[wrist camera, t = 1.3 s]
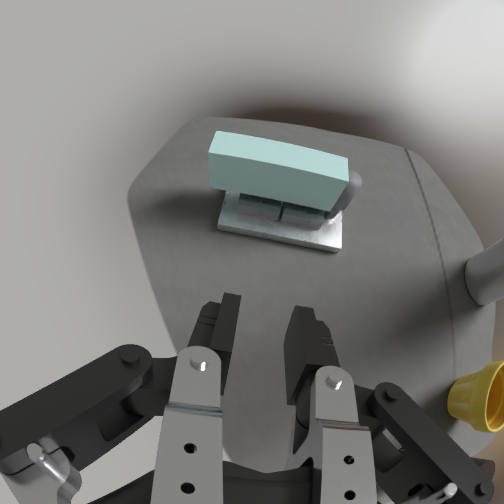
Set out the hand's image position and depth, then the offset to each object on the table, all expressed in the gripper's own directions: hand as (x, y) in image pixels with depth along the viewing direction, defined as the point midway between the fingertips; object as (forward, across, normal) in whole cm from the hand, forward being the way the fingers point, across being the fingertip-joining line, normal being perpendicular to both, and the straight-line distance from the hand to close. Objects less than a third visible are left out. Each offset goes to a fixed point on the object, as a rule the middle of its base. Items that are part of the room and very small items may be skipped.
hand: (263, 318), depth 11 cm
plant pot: (+10, -36, +19) cm, 41 cm away
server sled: (+27, -3, +1) cm, 28 cm away
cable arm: (+24, -2, -2) cm, 25 cm away
